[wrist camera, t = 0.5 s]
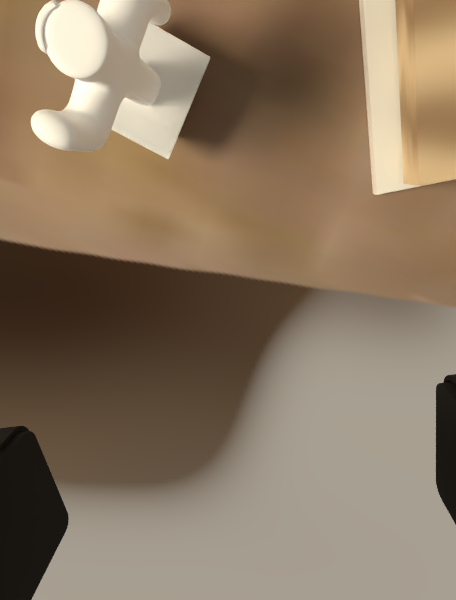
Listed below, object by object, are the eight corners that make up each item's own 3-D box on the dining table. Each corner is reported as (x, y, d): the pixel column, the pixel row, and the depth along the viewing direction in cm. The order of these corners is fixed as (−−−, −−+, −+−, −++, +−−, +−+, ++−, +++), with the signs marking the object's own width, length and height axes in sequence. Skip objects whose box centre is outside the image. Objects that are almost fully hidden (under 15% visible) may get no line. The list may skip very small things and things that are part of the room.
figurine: (221, 54, 29) (194, -47, 14) (171, 171, 32) (110, 182, 18) (133, 3, 28) (14, -156, 14) (91, 129, 31) (-41, 105, 17)
